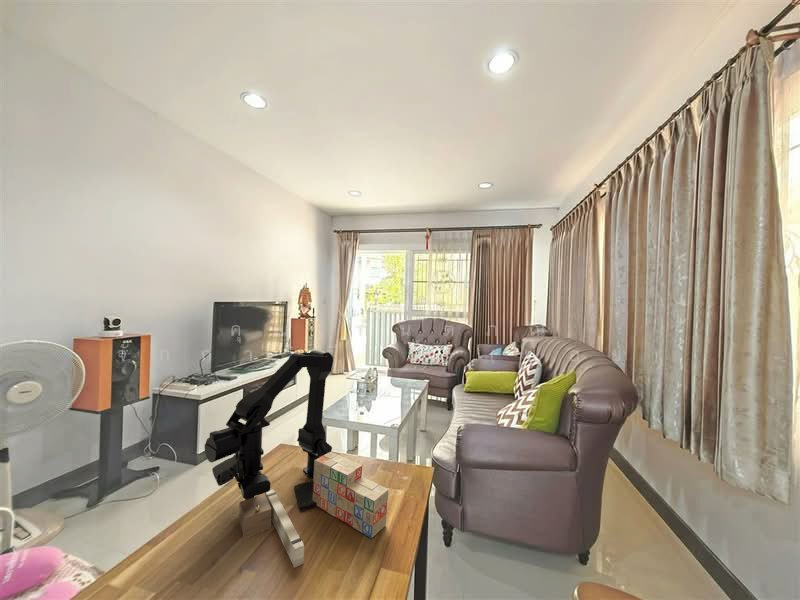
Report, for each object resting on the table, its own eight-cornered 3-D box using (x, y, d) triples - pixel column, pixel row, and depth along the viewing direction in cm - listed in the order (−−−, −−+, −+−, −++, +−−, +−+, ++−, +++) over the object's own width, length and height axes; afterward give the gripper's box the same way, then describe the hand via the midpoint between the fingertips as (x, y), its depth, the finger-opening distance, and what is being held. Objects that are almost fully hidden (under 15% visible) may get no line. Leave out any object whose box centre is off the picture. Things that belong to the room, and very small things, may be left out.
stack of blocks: (386, 525, 81) (389, 477, 81) (371, 539, 76) (374, 488, 76) (328, 492, 93) (330, 450, 93) (311, 503, 87) (314, 458, 87)
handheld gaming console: (287, 485, 93) (308, 455, 95) (305, 491, 97) (326, 462, 99) (299, 513, 84) (322, 479, 86) (319, 519, 87) (341, 486, 90)
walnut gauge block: (238, 521, 80) (239, 497, 80) (263, 512, 84) (264, 489, 84) (244, 539, 75) (245, 513, 75) (270, 528, 78) (271, 504, 78)
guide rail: (264, 505, 86) (265, 490, 86) (272, 502, 88) (272, 487, 88) (294, 568, 67) (294, 548, 67) (303, 563, 69) (304, 544, 69)
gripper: (210, 439, 87) (209, 495, 87) (221, 472, 72) (219, 539, 72) (254, 430, 94) (252, 482, 94) (271, 458, 79) (269, 519, 79)
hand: (248, 503), depth 85 cm, fingers closed
